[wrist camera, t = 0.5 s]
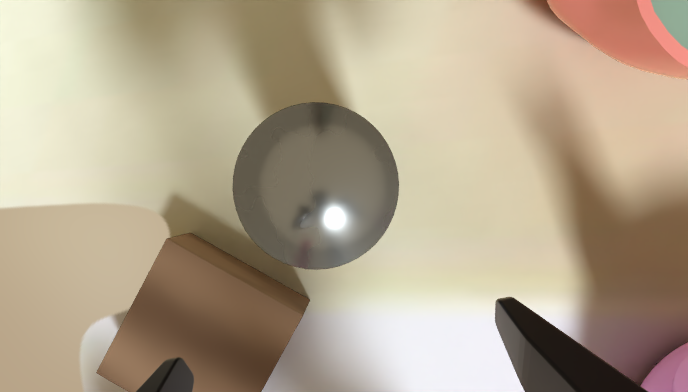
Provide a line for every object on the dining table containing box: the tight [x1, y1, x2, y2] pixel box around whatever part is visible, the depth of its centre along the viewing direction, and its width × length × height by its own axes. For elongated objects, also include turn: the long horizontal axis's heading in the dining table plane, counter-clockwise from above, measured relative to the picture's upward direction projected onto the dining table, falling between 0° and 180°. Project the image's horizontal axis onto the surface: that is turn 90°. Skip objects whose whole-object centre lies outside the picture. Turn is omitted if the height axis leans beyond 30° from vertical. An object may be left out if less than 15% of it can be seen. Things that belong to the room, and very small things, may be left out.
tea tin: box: [233, 102, 399, 269], centre depth 17 cm, size 6×6×12 cm
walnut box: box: [96, 233, 310, 392], centre depth 23 cm, size 10×10×3 cm
